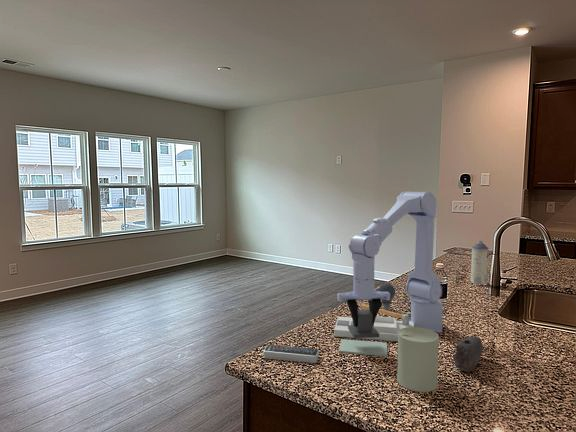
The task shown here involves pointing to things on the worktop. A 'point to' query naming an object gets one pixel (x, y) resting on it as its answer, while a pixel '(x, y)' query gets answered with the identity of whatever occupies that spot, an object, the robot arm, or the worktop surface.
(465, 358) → the perforated stone tool
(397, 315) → the hammer
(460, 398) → the worktop surface
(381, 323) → the white panel
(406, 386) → the can
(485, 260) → the aerosol can
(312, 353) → the multiport hub
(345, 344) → the mat
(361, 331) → the plug
